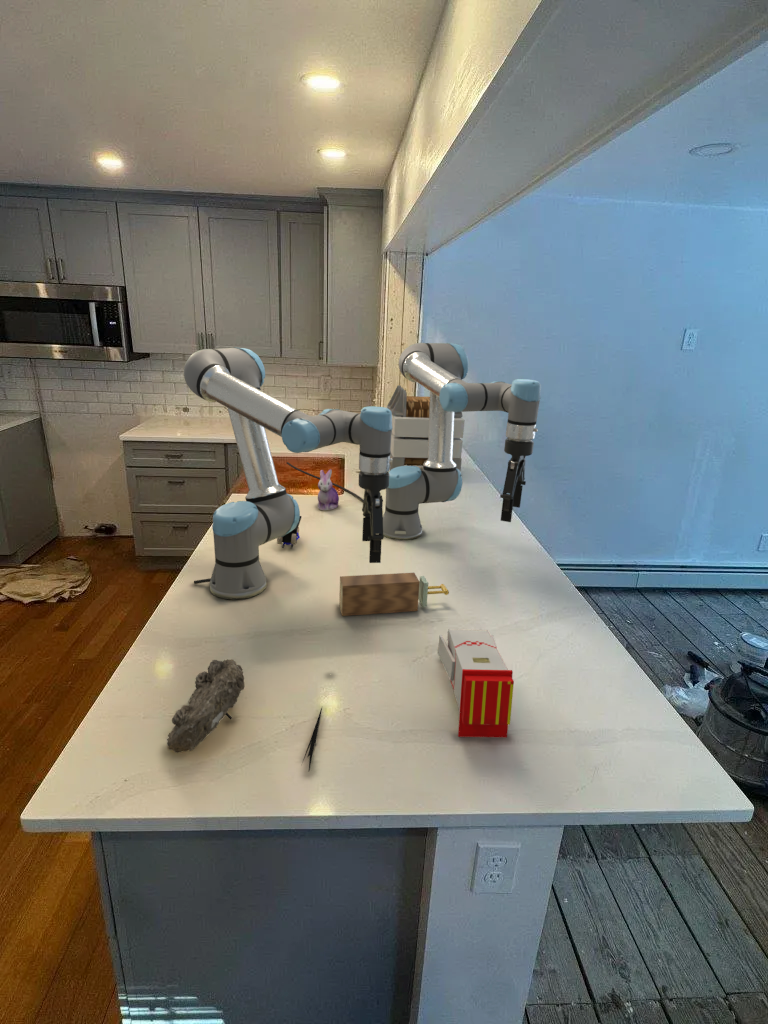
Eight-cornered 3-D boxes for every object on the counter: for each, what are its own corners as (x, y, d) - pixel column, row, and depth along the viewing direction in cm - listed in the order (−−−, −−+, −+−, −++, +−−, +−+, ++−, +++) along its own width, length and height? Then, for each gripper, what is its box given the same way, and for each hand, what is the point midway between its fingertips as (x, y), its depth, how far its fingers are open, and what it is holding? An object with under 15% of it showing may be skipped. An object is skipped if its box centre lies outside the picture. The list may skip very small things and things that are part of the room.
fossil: (192, 660, 117) (244, 628, 112) (224, 691, 120) (276, 661, 115) (142, 746, 98) (202, 712, 93) (182, 779, 101) (242, 748, 96)
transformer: (382, 463, 289) (386, 382, 275) (445, 464, 293) (451, 384, 279) (390, 482, 257) (394, 392, 243) (460, 483, 261) (468, 394, 247)
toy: (488, 613, 130) (523, 677, 101) (484, 667, 133) (517, 744, 104) (435, 612, 130) (455, 676, 101) (432, 666, 133) (451, 743, 103)
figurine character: (297, 555, 182) (302, 533, 196) (296, 534, 179) (302, 513, 192) (276, 554, 182) (283, 532, 195) (275, 534, 178) (282, 512, 192)
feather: (331, 679, 122) (336, 673, 122) (307, 777, 96) (313, 769, 95) (324, 675, 122) (329, 669, 121) (298, 772, 95) (304, 764, 95)
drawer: (443, 597, 155) (445, 574, 153) (448, 605, 151) (450, 581, 149) (353, 603, 150) (353, 579, 148) (355, 611, 146) (356, 587, 144)
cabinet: (412, 601, 154) (414, 572, 151) (417, 611, 149) (419, 581, 146) (339, 605, 150) (339, 576, 147) (342, 616, 145) (342, 585, 142)
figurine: (321, 512, 217) (321, 474, 212) (311, 504, 225) (311, 467, 220) (344, 509, 221) (344, 472, 216) (333, 501, 229) (334, 465, 224)
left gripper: (398, 486, 127) (393, 571, 135) (381, 458, 150) (378, 532, 158) (365, 486, 126) (362, 572, 133) (353, 458, 149) (351, 532, 156)
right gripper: (526, 450, 139) (515, 530, 147) (540, 432, 161) (531, 503, 168) (495, 446, 142) (487, 525, 149) (514, 429, 164) (506, 499, 171)
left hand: (370, 551), depth 146 cm, fingers open, 13 cm apart
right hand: (510, 513), depth 159 cm, fingers open, 13 cm apart
